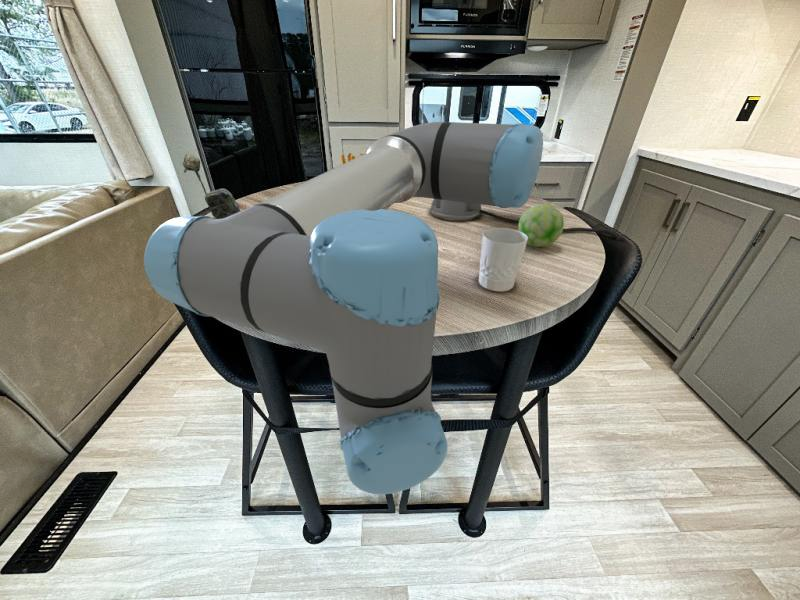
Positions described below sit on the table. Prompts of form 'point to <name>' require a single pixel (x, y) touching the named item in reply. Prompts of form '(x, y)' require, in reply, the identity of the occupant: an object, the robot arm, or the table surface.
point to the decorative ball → (541, 225)
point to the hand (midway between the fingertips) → (338, 253)
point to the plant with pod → (213, 193)
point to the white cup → (501, 258)
